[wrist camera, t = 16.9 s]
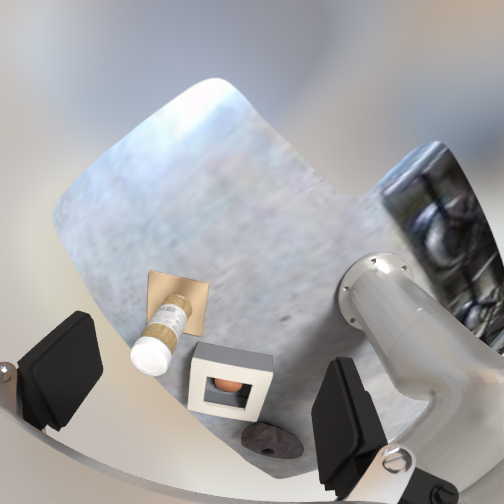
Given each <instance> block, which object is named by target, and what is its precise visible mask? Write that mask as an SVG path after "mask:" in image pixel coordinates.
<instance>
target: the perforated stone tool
mask: <svg viewBox="0 0 504 504" xmlns="http://www.w3.org/2000/svg"><path fill="white" fill-rule="evenodd" d="M241 439H242V445H243V446H244V447H246V448H248V449H250V450H252V451H254V452H257V453H259V454H262V455H266V456H270V457H275V458H283V459H294V458H298V457H300V456H302V453H303V451H304V447H303V444H302V443H301V441H300V440H299V439H298V438H297V437H295V436H294V435H292V434H290V433H287V432H286V431H284V430H282V429H280V428H277V427H275V426H272V425H267V424H264V423H262V422H260V423H257V424H255V425H251V426H249V427H247V428H246V429H245V430H244V431H243V432H242V437H241Z"/></svg>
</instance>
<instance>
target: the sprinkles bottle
mask: <svg viewBox="0 0 504 504" xmlns="http://www.w3.org/2000/svg"><path fill="white" fill-rule="evenodd" d="M191 314H192V305H191V303H190V301H189V300H188V299H187V298H186V297H184V296H183V295H180V294H172V295H169V296H168V297H166V299H165V300H164V303H163V304H162V306H161V307H160V308H159V309H158V311H157V312H156V314H155V315H154V316H153V318H152V319H151V321H150V322H149V324H148V325H147V328H146V330H145V331H144V333H143V334H142V336H141V337H140V338H139V339H138V340H137V341H136V342H135V344H134V345H133V347H132V349H131V351H130V359H131V361H132V363H133V365H134V366H135V367H136V368H137V369H138V370H139V371H141V372H142V373H144V374H146V375H149V376H160V375H163V374H164V373H165V372H166V371H167V369H168V367H169V365H170V363H171V359H172V358H171V356H172V354H173V352H174V350H175V348H176V346H177V344H178V342H179V340H180V337H181V335H182V333H183V331H184V328H185V326H186V324H187V321H188V319H189V317H190V316H191Z"/></svg>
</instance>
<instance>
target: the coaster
mask: <svg viewBox="0 0 504 504" xmlns="http://www.w3.org/2000/svg"><path fill="white" fill-rule="evenodd" d="M209 284H210V283H205V282H201V281H196V280H191V279H187V278H182V277H178V276H173V275H169V274H165V273H160V272H156V271H152V270H150V271H149V284H148V316H147V323H149V322H150V321H151V319H152V318H153V316H154V315H155V314H156V312H157V311H158V309H159V308H160V307H161V306H162V304H163V303H164V300H165V299H166V297H168V296H169V295H172V294H180V295H183V296H184V297H186V298H187V299H188V300H189V301H190V303H191V305H192V314H191V316H190V317H189V319H188V321H187V324H186V326H185V328H184V331H183V333H187V334H192V335H196V336H200V337H202V334H203V326H204V319H205V311H206V304H207V297H208V291H209Z"/></svg>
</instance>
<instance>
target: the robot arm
mask: <svg viewBox="0 0 504 504" xmlns="http://www.w3.org/2000/svg"><path fill="white" fill-rule="evenodd" d="M372 259H373V260H372ZM371 260H372V261H371ZM346 286H347V287H346ZM345 287H346V288H345ZM338 304H339V309H340V311H341V313H342V315H343V317H344V319H345V320H346V321H347V322H348V323H349V324H350V325H351V326H353V327H355V328H357V329H360V330H363V331H364V333H365V334H366V336H367V338H368V340H369V341H370V343H371V345H372V347H373V349H374V350H375V352H376V354H377V356H378V358H379V359H380V361H381V363H382V365H383V367H384V369H385V371H386V372H387V374H388V376H389V378H390V380H391V382H392V384H393V385H394V387H395V388H396V389H397V390H398V391H399V392H400V393H401V394H403V395H404V396H406V397H409V398H411V399H416V400H424V401H430V402H429V404H428V406H427V408H426V409H425V410H424V411H423V412H422V413H421V415H420V416H419V417H418V418H417V419H416V420H415V421H414V422H413V423H412V424H411V425H410V426H409V427H408V428H406V429H405V430H404V431H403V432H402V433H401V434H400V435H399V436H397V437H396V438H395V439H394V440H393V441H392V442H390V443H389V444H388V442H387V439H386V436H385V433H384V431H383V428H382V425H381V422H380V420H379V417H378V414H377V412H376V409H375V406H374V404H373V401H372V398H371V396H370V394H369V392H368V391H365V389H364V387H363V384H362V382H361V379H360V376H359V374H358V371H357V369H356V366H355V364H354V361H353V359H352V358H345V357H337V358H336V359H335V361H331V362H330V364H329V367H328V369H327V372H326V375H325V377H324V380H323V382H322V385H321V388H320V390H319V393H318V395H317V397H316V400H315V402H314V405H313V407H312V412H311V416H312V423H313V430H314V438H315V446H316V454H317V462H318V471H319V480H320V483H321V484H324V485H325V490H326V491H328V490H335V495H336V496H337V498H336V499H335V500H334V501H330V502H269V501H253V500H242V499H233V498H226V497H219V496H213V495H207V494H202V493H196V492H191V491H187V490H183V489H178V488H174V487H170V486H167V485H163V484H159V483H155V482H153V481H149V480H146V479H143V478H140V477H137V476H134V475H131V474H128V473H125V472H123V471H120V470H118V469H115V468H113V467H110V466H108V465H106V464H103V463H101V462H99V461H96V460H94V459H92V458H90V457H87V456H85V455H83V454H81V453H79V452H77V451H75V450H73V449H71V448H70V447H68V446H66V445H64V444H62V443H60V442H58V441H56V440H55V439H53V438H52V437H50V436H48V435H47V434H46V429H45V427H46V425H47V424H48V425H49V426H50V427H51V428H53V429H55V430H57V431H59V430H60V429H61V428H62V427H65V426H66V425H67V424H68V422H69V421H70V419H71V418H72V416H73V415H74V413H75V412H76V410H77V409H78V408H79V406H80V405H81V403H82V402H83V401H84V399H85V398H86V396H87V395H88V394H89V392H90V391H91V389H92V388H93V387H94V385H95V384H96V382H97V381H98V380H99V378H100V377H101V375H102V373H103V365H102V361H101V357H100V352H99V347H98V342H97V337H96V331H95V326H94V321H93V319H92V318H91V316H90V315H89V314H88V313H85V312H81V311H75V312H74V313H73V314H72V315H70V317H68V318H67V319H66V320H64V321H63V322H62V323H61V324H60V325H58V326H57V327H56V328H55V329H54V330H53V331H51V332H50V333H49V334H48V335H47V336H46V337H45V338H43V339H42V340H41V341H40V342H39V343H38V344H37V345H36V346H35V347H33V348H32V349H31V350H30V351H29V352H28V353H27V354H26V355H25V356H23V357H22V358H21V359H20V360H19V361H18V362H17V363H18V366H19V368H18V369H16V367H15V366H14V365H13V364H11V363H9V362H0V504H504V357H503V356H501V355H500V354H498V353H497V352H496V351H494V350H493V349H491V348H490V347H489V346H487V345H486V344H485V343H483V342H482V341H481V340H479V339H478V338H477V337H476V336H475V335H474V334H472V333H471V332H470V331H469V330H468V329H467V328H466V327H464V326H463V325H462V324H461V323H460V322H459V321H458V320H457V319H456V318H455V317H454V316H452V315H451V314H450V313H449V312H448V311H447V310H446V309H445V308H443V307H442V306H441V305H440V304H439V303H438V302H437V301H436V300H434V299H433V298H432V297H431V296H430V295H429V294H427V293H426V292H425V291H424V290H423V289H422V288H420V287H419V286H418V285H417V284H416V283H415V282H414V277H413V274H412V271H411V269H410V267H409V265H408V264H407V263H406V262H405V261H404V260H403V259H402V258H400V257H399V256H397V255H395V254H392V253H388V252H378V253H373V254H370V255H368V256H365V257H364V258H362V259H360V260H359V261H357V262H356V263H355V264H354V265H353V266H352V267H351V268H350V269H349V270H348V272H347V273H346V275H345V276H344V278H343V280H342V282H341V285H340V288H339V293H338Z"/></svg>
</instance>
